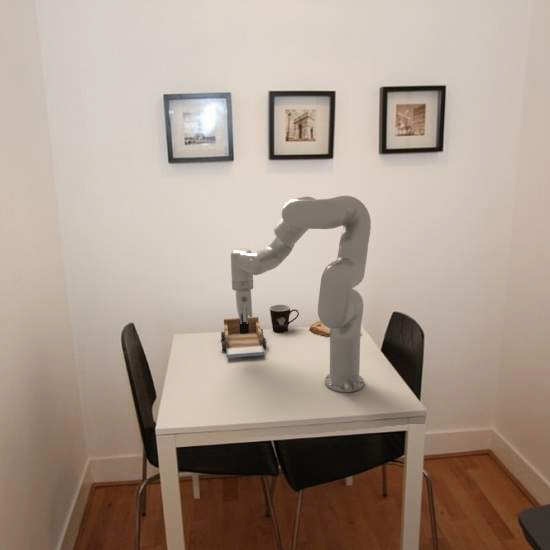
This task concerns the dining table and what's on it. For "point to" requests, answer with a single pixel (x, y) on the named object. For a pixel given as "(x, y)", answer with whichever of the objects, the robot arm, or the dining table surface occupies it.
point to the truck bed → (235, 339)
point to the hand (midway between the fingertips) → (244, 332)
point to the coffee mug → (281, 318)
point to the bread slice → (320, 329)
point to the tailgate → (245, 351)
